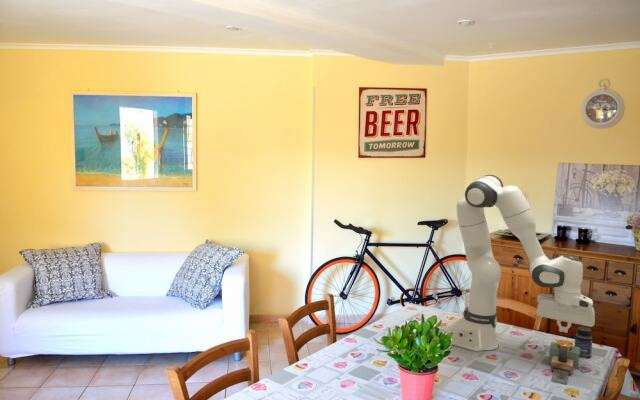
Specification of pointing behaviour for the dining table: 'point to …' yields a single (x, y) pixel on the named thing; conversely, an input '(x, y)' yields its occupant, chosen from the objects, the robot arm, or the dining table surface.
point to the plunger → (565, 344)
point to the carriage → (562, 360)
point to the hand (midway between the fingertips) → (563, 331)
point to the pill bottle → (584, 342)
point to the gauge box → (572, 354)
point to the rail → (560, 375)
